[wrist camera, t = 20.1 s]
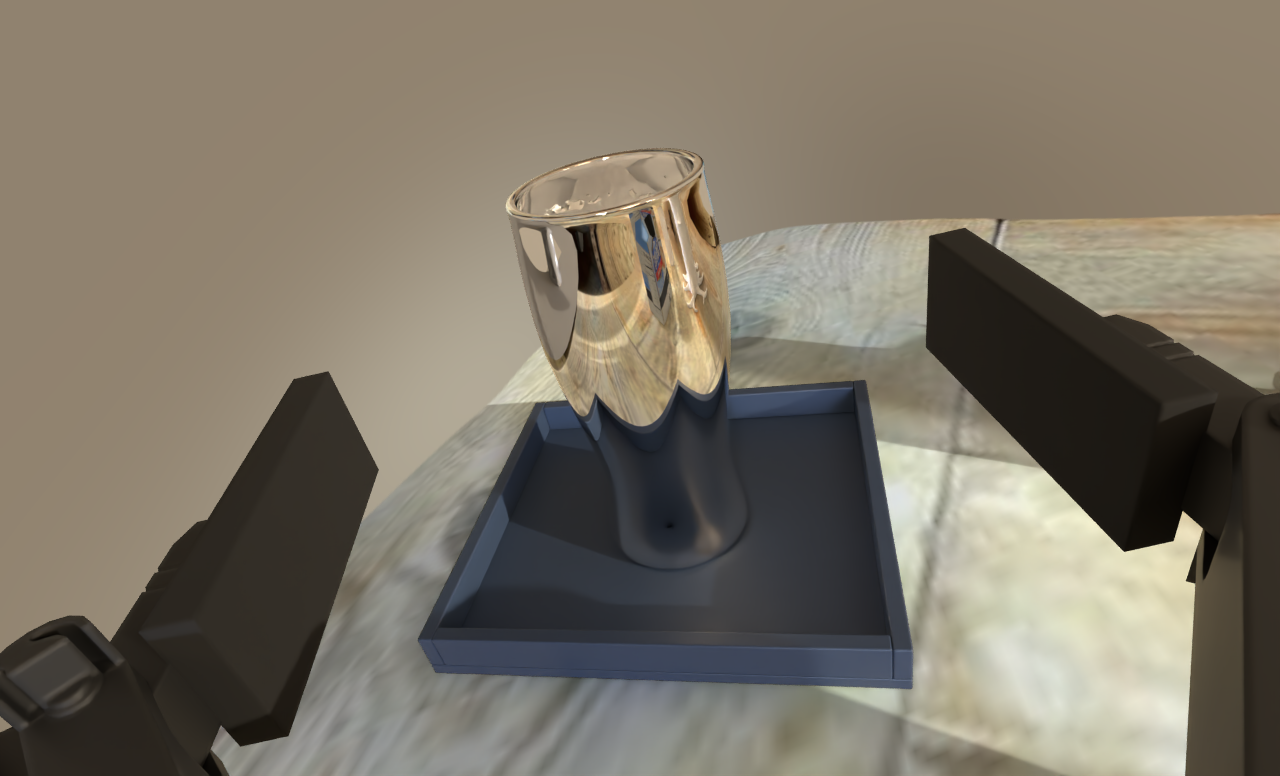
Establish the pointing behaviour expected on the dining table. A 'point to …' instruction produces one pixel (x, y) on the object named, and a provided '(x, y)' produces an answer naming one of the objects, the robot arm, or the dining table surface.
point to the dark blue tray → (699, 595)
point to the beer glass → (639, 341)
